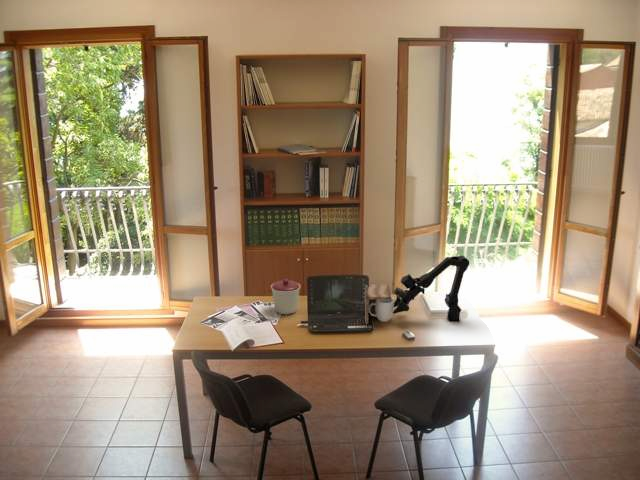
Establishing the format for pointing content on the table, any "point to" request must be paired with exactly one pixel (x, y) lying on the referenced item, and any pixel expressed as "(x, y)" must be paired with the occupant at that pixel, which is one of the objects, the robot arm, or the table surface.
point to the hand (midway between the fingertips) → (392, 310)
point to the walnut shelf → (375, 297)
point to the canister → (285, 296)
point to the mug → (383, 309)
